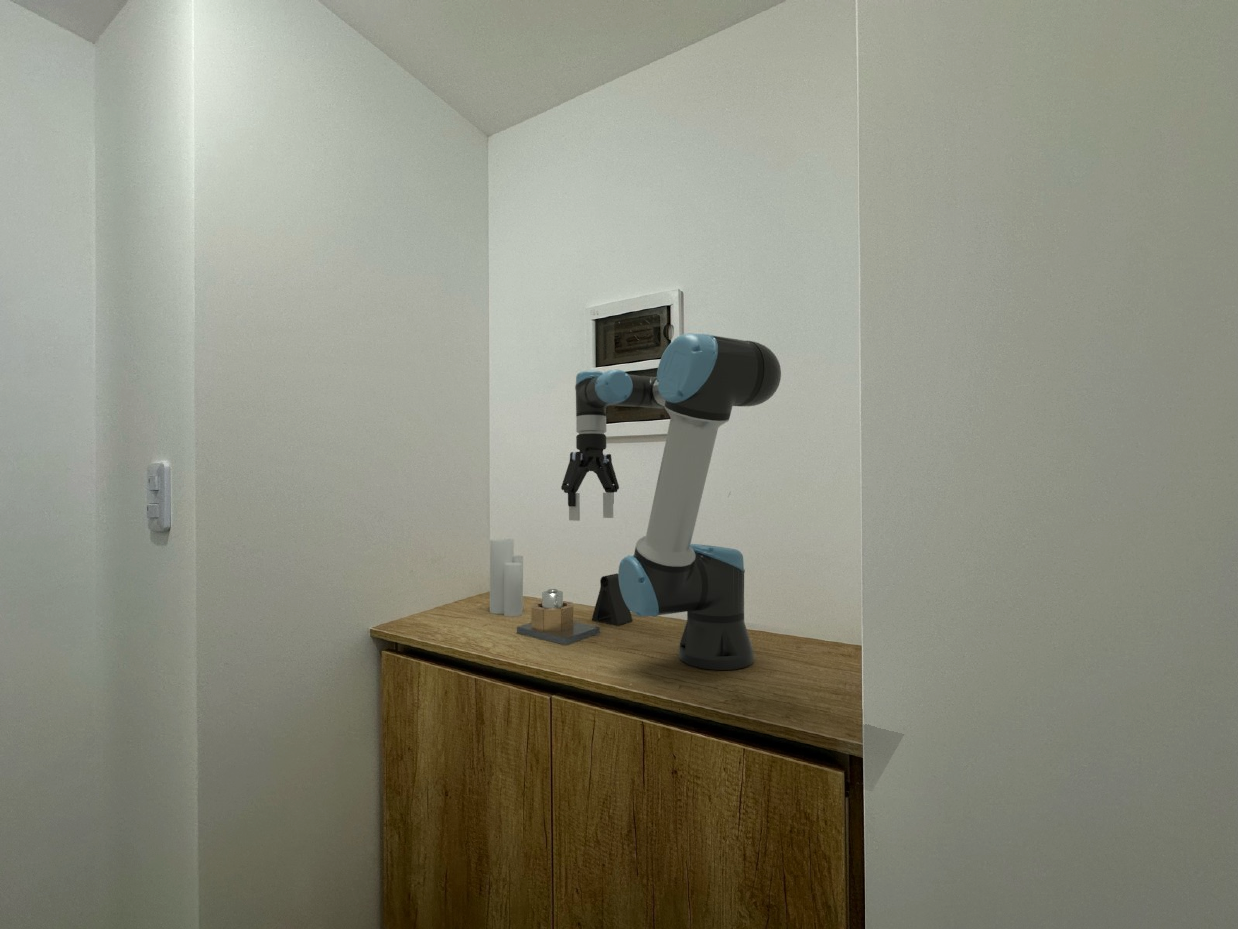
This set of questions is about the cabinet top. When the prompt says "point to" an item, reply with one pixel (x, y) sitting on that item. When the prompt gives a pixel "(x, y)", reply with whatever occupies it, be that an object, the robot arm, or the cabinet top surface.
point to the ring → (552, 617)
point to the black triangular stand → (611, 603)
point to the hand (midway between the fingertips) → (592, 519)
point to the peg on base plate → (564, 637)
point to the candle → (505, 579)
